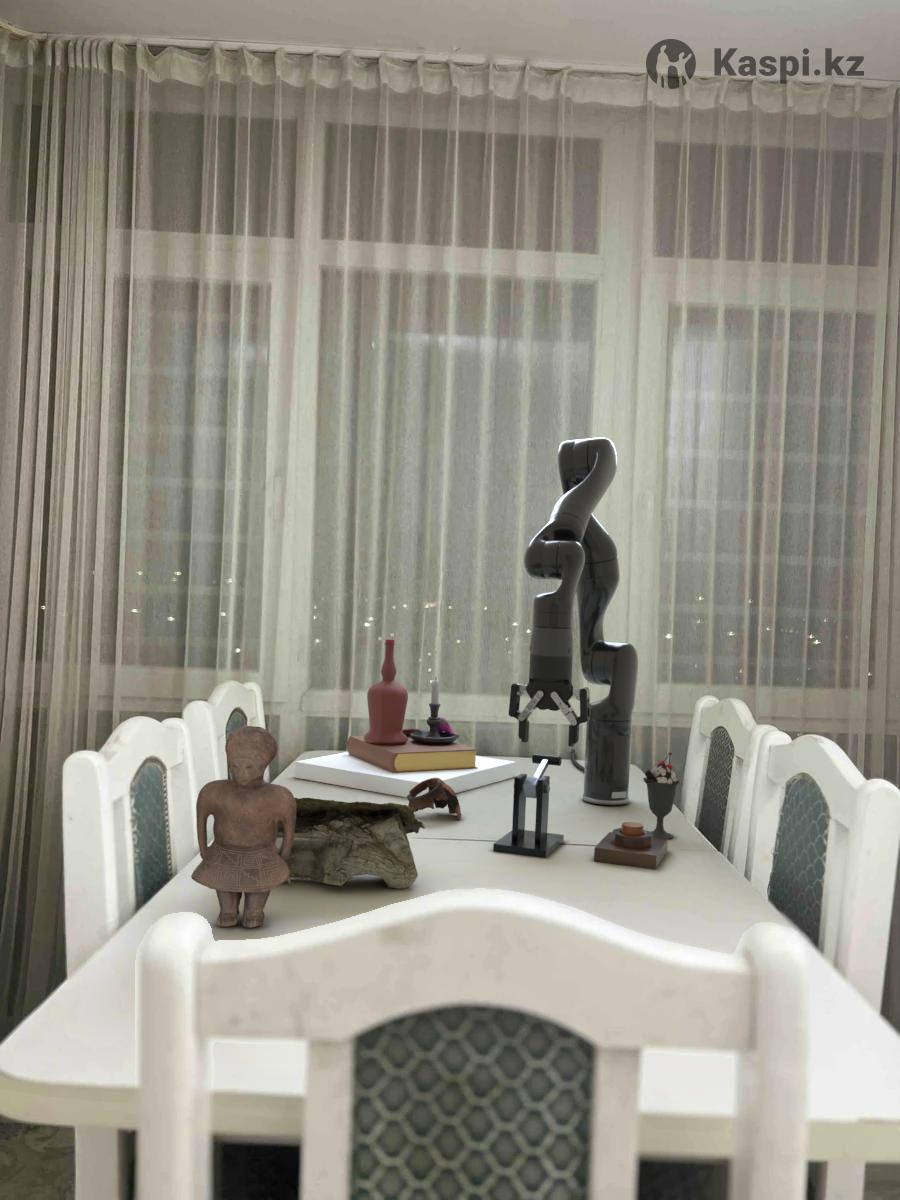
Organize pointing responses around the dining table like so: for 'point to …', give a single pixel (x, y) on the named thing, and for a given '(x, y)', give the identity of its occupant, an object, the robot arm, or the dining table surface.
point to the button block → (631, 849)
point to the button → (632, 828)
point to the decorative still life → (403, 748)
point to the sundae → (661, 794)
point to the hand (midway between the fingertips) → (547, 743)
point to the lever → (539, 773)
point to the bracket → (539, 839)
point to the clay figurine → (245, 829)
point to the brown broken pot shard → (434, 796)
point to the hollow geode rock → (352, 841)
